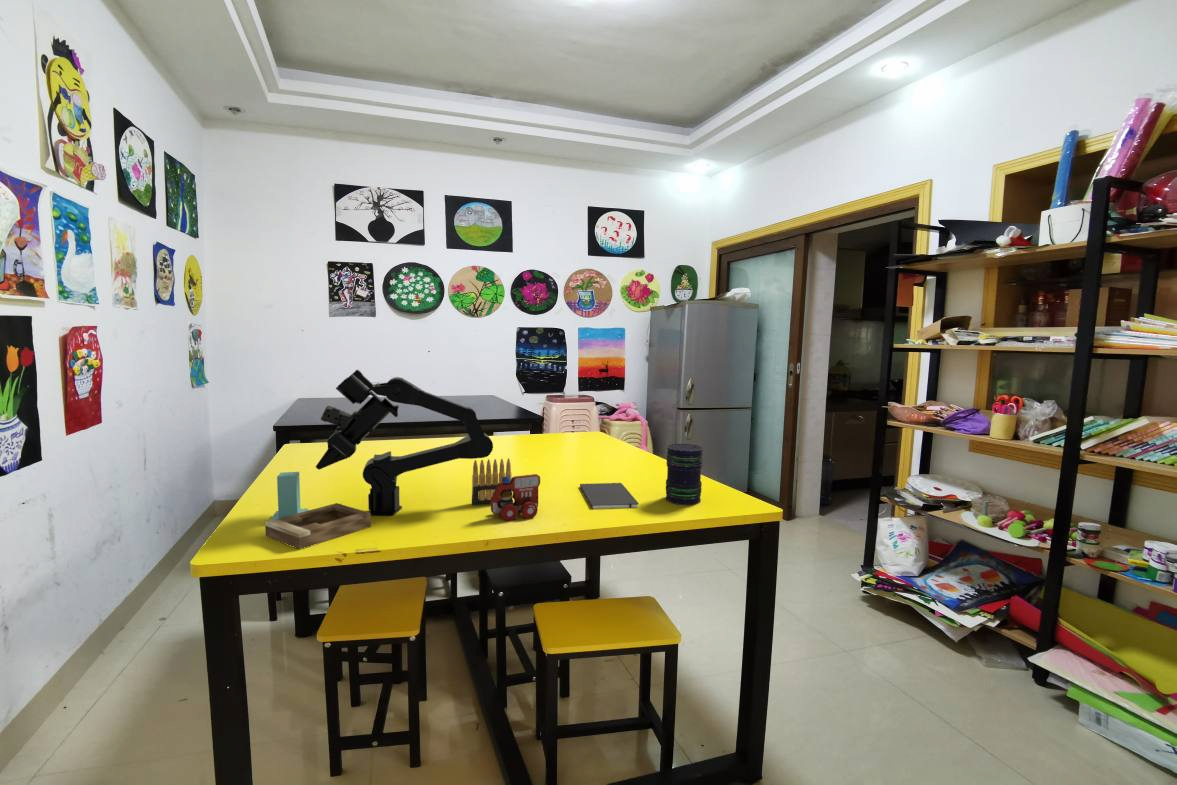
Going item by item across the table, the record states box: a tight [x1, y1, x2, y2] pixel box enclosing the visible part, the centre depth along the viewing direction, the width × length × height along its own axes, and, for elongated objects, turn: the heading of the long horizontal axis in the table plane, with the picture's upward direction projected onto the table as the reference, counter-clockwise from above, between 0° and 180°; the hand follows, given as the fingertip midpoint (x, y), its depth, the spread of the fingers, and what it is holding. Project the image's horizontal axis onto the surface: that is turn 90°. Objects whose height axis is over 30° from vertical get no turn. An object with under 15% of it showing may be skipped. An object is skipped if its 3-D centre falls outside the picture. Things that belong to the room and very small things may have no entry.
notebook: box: [579, 482, 639, 510], centre depth 157 cm, size 13×2×21 cm
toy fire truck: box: [490, 473, 541, 522], centre depth 138 cm, size 7×12×10 cm, turn 113°
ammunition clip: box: [471, 458, 513, 506], centre depth 148 cm, size 11×2×12 cm, turn 109°
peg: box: [269, 471, 310, 521], centre depth 133 cm, size 7×7×11 cm
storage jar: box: [665, 443, 704, 506], centre depth 154 cm, size 10×10×15 cm
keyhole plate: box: [264, 502, 372, 550], centre depth 125 cm, size 17×13×3 cm
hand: (320, 463), depth 134 cm, fingers open, 9 cm apart
